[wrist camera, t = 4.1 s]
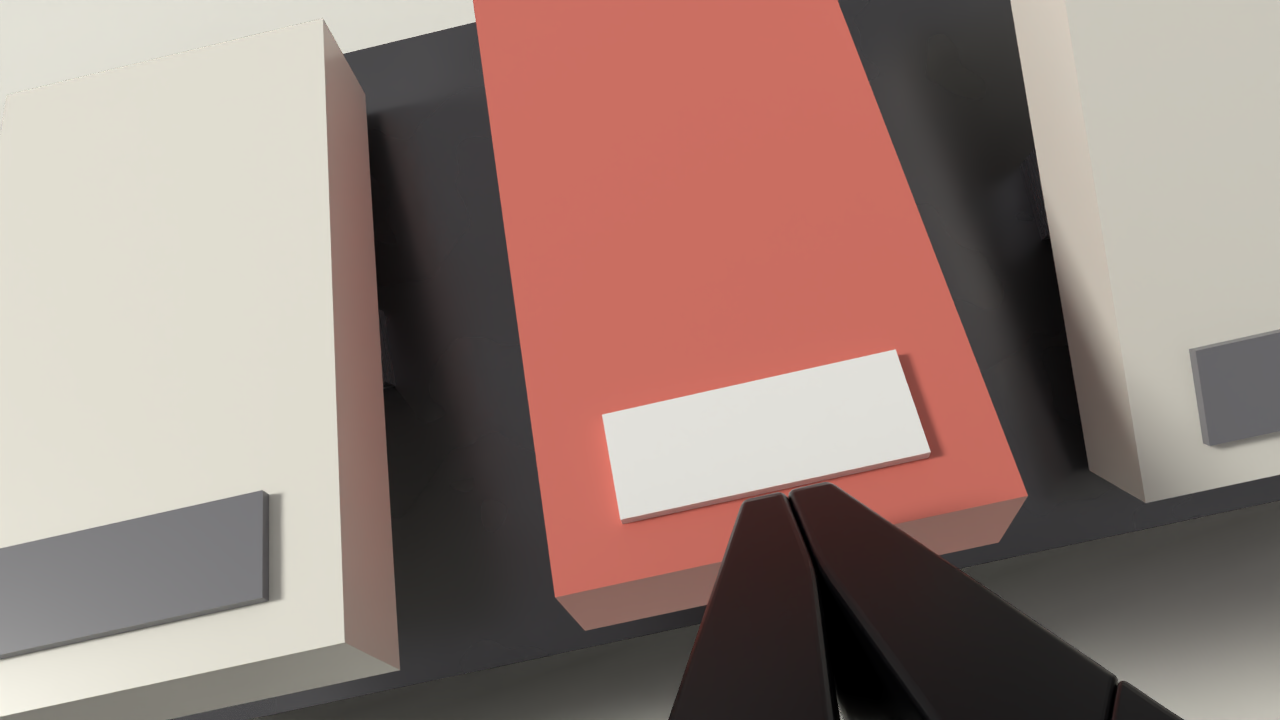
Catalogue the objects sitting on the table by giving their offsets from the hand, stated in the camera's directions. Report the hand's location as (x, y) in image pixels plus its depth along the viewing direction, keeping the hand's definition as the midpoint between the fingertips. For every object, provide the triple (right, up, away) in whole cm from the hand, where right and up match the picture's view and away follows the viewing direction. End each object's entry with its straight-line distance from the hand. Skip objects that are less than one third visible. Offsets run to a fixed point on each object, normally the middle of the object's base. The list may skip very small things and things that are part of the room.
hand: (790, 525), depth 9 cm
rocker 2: (-1, +3, +4) cm, 5 cm away
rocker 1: (-7, +2, +4) cm, 9 cm away
